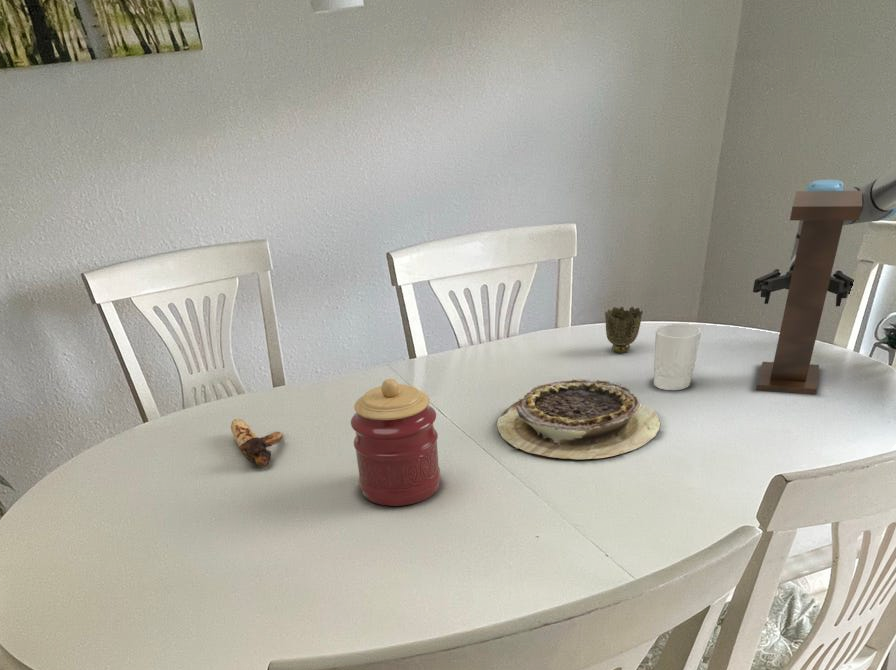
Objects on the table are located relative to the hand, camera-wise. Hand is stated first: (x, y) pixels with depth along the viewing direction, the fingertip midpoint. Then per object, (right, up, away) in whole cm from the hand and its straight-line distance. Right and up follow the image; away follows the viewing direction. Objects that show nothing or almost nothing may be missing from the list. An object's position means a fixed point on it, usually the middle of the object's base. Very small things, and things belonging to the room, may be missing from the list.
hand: (802, 298), depth 160 cm
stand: (-10, -22, -15) cm, 28 cm away
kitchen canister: (-82, -46, -35) cm, 100 cm away
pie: (-52, -33, -22) cm, 65 cm away
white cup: (-31, -22, -12) cm, 40 cm away
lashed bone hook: (-108, -36, -19) cm, 115 cm away
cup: (-37, -10, +4) cm, 38 cm away
